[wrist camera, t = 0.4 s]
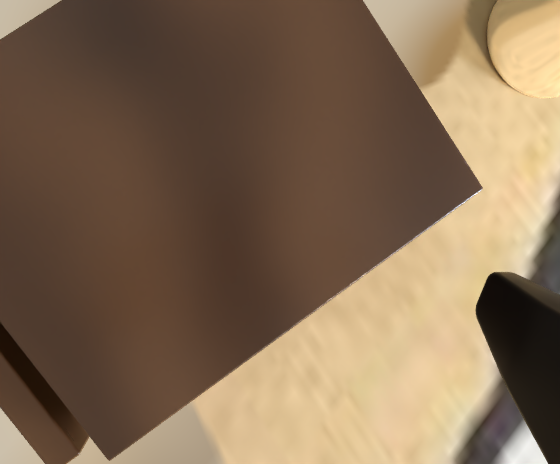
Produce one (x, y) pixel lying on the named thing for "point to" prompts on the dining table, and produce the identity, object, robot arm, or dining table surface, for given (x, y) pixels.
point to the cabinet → (199, 188)
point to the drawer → (36, 406)
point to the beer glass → (526, 45)
